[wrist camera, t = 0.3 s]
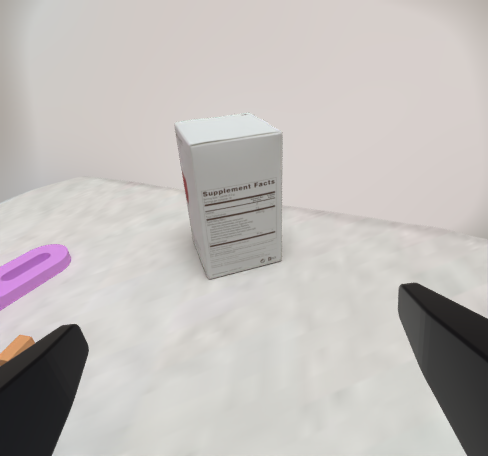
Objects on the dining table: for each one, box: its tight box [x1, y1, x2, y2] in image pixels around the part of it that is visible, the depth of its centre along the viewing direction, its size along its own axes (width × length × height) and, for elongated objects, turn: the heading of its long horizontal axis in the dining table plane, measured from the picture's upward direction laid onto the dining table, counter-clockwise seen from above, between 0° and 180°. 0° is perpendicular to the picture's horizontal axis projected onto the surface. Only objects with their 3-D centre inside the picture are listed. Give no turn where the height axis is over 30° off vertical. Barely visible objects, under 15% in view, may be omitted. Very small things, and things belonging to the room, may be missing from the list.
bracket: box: [0, 244, 71, 310], centre depth 36 cm, size 13×6×7 cm, turn 151°
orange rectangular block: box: [0, 335, 35, 366], centre depth 27 cm, size 2×1×2 cm, turn 167°
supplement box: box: [175, 113, 282, 279], centre depth 37 cm, size 9×9×15 cm
